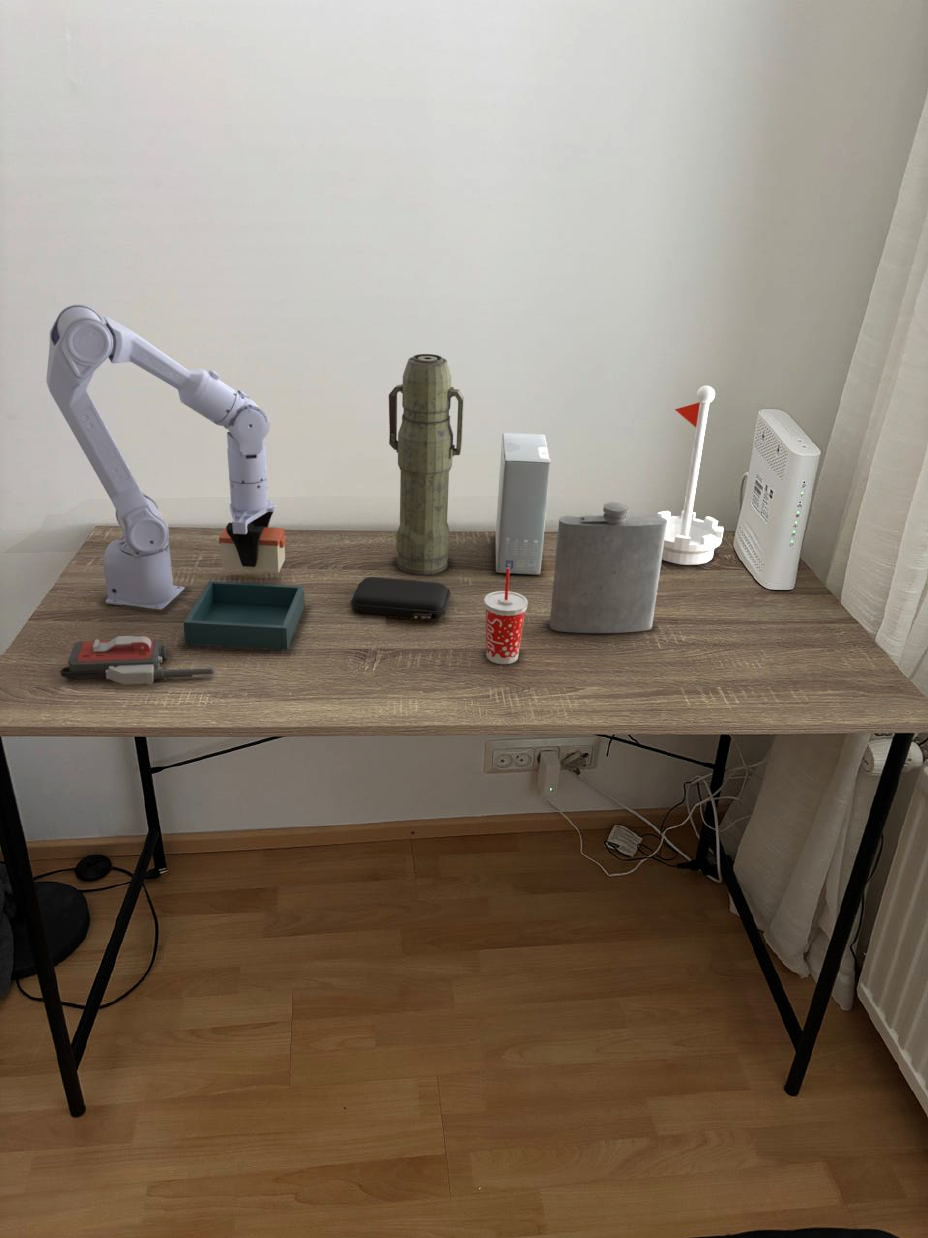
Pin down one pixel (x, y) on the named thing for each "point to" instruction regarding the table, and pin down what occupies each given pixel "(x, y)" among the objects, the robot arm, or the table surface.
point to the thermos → (424, 462)
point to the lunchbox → (268, 552)
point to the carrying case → (401, 598)
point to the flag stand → (692, 500)
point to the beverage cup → (504, 624)
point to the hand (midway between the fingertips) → (253, 558)
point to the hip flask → (607, 572)
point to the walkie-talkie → (123, 661)
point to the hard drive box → (522, 503)
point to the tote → (245, 615)
